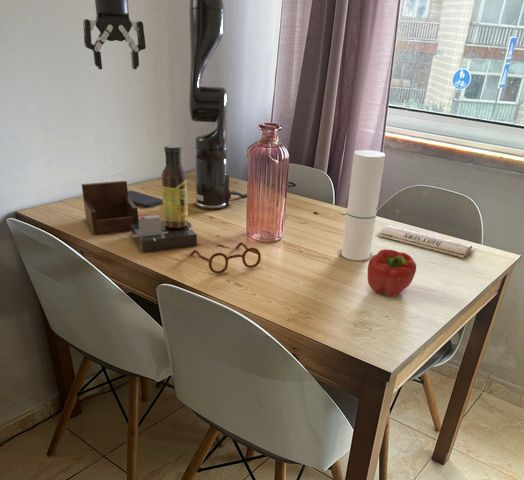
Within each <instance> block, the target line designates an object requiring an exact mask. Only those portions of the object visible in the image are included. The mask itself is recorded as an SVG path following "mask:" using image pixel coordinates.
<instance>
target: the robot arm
mask: <svg viewBox="0 0 524 480" xmlns="http://www.w3.org/2000/svg"><path fill="white" fill-rule="evenodd" d="M94 5H95V13H96V14H95V16H96V17H95V20H93V19H92V20H91V19H87V18H84V19H83V20H82V24H83V41H84V47H85V48H86V49H88V50H91V52H92V53H93V61H94V65H95V67H97V69H98V70H103V64H102V63H103V61H102V54H101V53H102V52H101V51H100V50H101V48H102V47H103V45H104V44H105V42H106V41H108V42H114V41H118V42H123V41H124V42H125V43H126V44H127V45H128V47H129V48H130V49H131V51H130V57H131V69H132V70H137V69H138V68H139V66H140V57H139V53H140V51H143V50H146V48H147V47H146V38H145V29H144V23H143V21H141V20H137V21H131V19H130V11H129V9H130V8H129V0H94ZM188 8H189V11H188V13H189V14H188V17H189V18H188V19H189V20H188V22H189V23H188V25H189V46H190V47H189V52H190V54H189V56H190V58H189V59H190V61H189V83H188V84H189V85H188V113H189V117H190V120H191V121H193V122H197V123H215V126H214V127H212V129H210V130H207V131H206V132H203V133H200V134H197V135H196V137H195V138H194V157H195V158H194V159H195V160H194V161H195V162H194V163H195V205H196V206H197V208H201V209H204V210H220V209H224V208H226V207H230V200H231V199H232V195H234V196H238V197H241V198H247V197H248V196H247V193H241V192H238V191H231V190H230V175H229V174H228V173H227V172H228V170H227V169H228V168H227V162H228V156H227V155H228V153H227V152H228V151H227V150H228V138H227V137H228V136H227V133H228V132H227V131H228V130H227V129H228V112H229V111H228V110H229V95H228V92H227V89H226V88H225V87H223V86H210V85H202V79H203V76H204V73H205V70H206V68H207V65H208V63H209V61H210V60H211V58H212V56H213V54H214V53H215V52H216V50H217V48H218V46H219V44H220V43H221V41H222V39H223V36H224V33H225V32H224V31H225V4H224V1H223V0H189V7H188ZM95 27H96V28H97V30H98V31H99V34H98V36H97V37H96V40H95V41H94V44H93V43H92V31H93V30H94V28H95ZM132 28H133V31H134V32H136V37H137V44H136V43H135V41H134V40H133V38H132V37H131V35H130V34H129V33H130V31H131V30H132ZM287 181H288V184H287V185H293V186H295V187H297V183H296V182H295V181H293V180H287Z"/></svg>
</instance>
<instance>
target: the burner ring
mask: <svg viewBox="0 0 524 480" xmlns="http://www.w3.org/2000/svg"><path fill="white" fill-rule="evenodd" d="M160 222H161V223H160V224H161V230H163V231H167V232H182V231H186V230H189V229H190V228H191V229H192V224H191V222H189V221H187V226H185V227H182V228H169V227H167V226H165V223H164V220H163V221H160Z"/></svg>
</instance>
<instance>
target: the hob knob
mask: <svg viewBox="0 0 524 480" xmlns="http://www.w3.org/2000/svg"><path fill="white" fill-rule="evenodd" d="M138 222H139V232H140V235H141V237H145V236H153V235H161V224H160V222H161V217H160V215H159V214H153V215H138Z"/></svg>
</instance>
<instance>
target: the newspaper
mask: <svg viewBox="0 0 524 480" xmlns="http://www.w3.org/2000/svg"><path fill="white" fill-rule="evenodd" d="M378 237H381V238H385V239H390V240H394V241H396V242H400V243H405V244H407V245H413V246H415V247H420V248H423V249H427V250H432V251H436V252H439V253H443V254H447V255H451V256H454V257H459V258H464V257H466V255H468V254H469V253H470V252H471V250H472V248H473V245H471V244H466V243H461V242H458V241H453V240H450V239H445V238H441V237H437V236H434V235H430V234H426V233H422V232H417V231H412V230H410V229H409V230H408V229H405V228H401V227H397V226H393V225H389V224H388V225H386V226H384V227H383V228H382V229H381V231H380V234H378Z"/></svg>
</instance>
